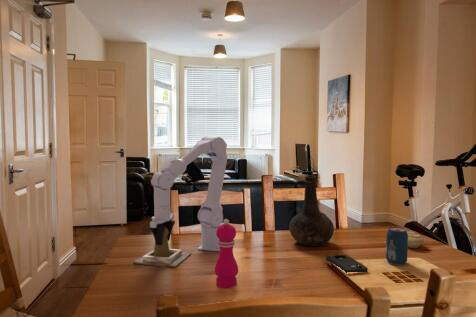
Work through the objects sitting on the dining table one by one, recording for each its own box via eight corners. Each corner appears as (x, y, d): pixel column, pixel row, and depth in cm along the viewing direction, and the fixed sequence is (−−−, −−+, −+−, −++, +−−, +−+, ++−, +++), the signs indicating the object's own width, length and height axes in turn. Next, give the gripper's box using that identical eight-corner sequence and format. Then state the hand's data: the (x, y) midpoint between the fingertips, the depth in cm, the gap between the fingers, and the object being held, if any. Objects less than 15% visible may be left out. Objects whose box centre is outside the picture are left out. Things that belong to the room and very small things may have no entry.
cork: (166, 260, 133) (166, 230, 132) (150, 259, 134) (150, 229, 133) (172, 254, 139) (172, 225, 138) (156, 253, 140) (156, 224, 139)
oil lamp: (409, 239, 161) (410, 227, 160) (433, 249, 147) (434, 236, 146) (387, 240, 159) (388, 228, 158) (409, 251, 145) (410, 238, 144)
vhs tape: (368, 273, 123) (368, 267, 123) (346, 276, 121) (346, 270, 121) (345, 259, 137) (345, 254, 137) (325, 261, 135) (326, 255, 135)
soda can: (406, 260, 134) (407, 227, 133) (408, 267, 127) (409, 232, 127) (385, 258, 136) (386, 225, 135) (386, 264, 130) (387, 230, 129)
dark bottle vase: (342, 244, 153) (343, 176, 150) (311, 252, 142) (312, 180, 140) (310, 234, 167) (311, 172, 165) (280, 241, 157) (280, 175, 155)
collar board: (191, 254, 141) (191, 249, 140) (174, 267, 127) (174, 261, 127) (153, 251, 145) (152, 245, 145) (133, 263, 132) (133, 257, 131)
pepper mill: (214, 279, 117) (213, 216, 115) (237, 278, 118) (237, 216, 116) (214, 289, 110) (214, 222, 108) (239, 288, 110) (239, 221, 109)
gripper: (161, 201, 143) (162, 236, 144) (141, 208, 129) (142, 247, 130) (178, 202, 141) (179, 237, 142) (160, 210, 127) (161, 249, 128)
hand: (162, 242), depth 136 cm, fingers closed on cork, 5 cm apart
